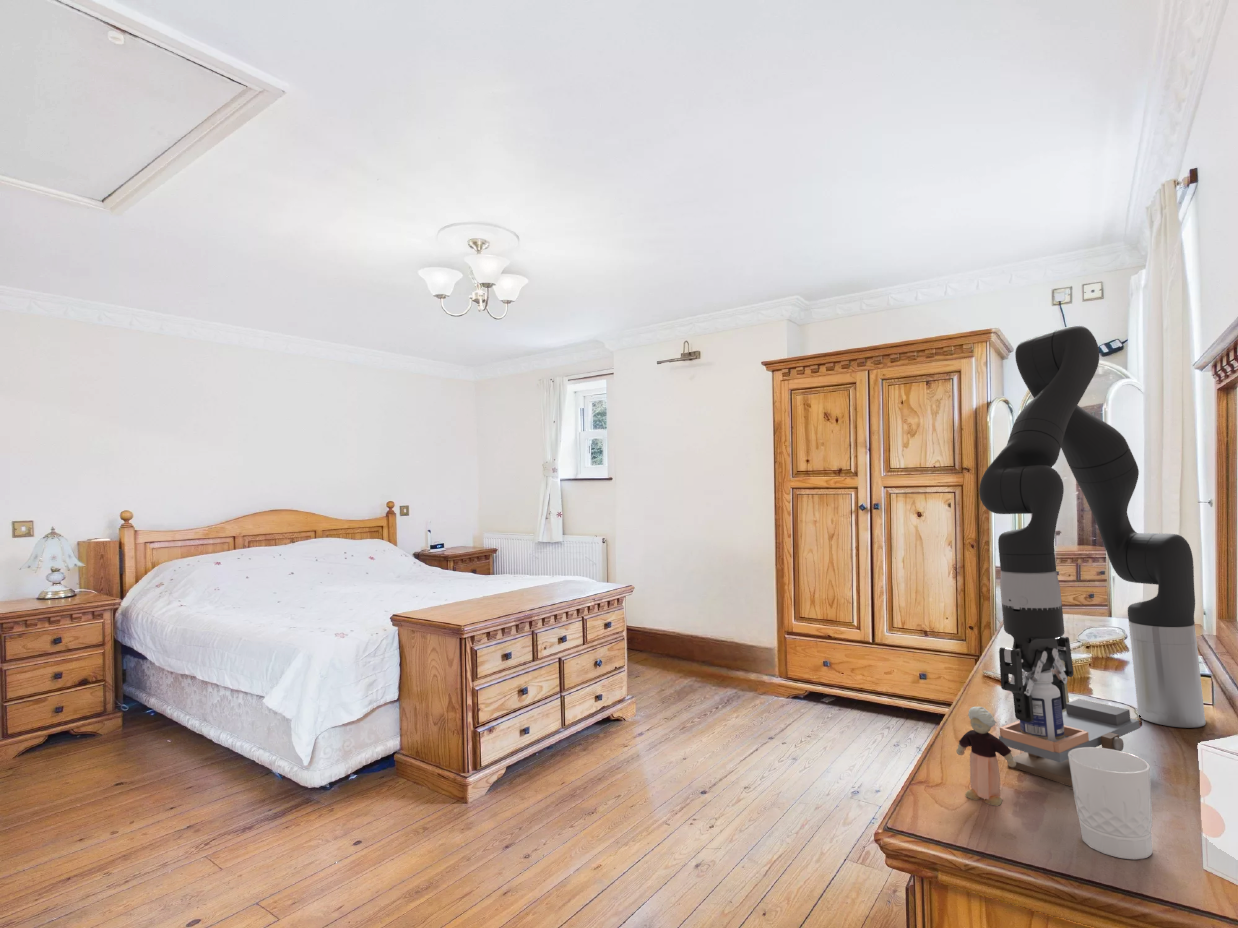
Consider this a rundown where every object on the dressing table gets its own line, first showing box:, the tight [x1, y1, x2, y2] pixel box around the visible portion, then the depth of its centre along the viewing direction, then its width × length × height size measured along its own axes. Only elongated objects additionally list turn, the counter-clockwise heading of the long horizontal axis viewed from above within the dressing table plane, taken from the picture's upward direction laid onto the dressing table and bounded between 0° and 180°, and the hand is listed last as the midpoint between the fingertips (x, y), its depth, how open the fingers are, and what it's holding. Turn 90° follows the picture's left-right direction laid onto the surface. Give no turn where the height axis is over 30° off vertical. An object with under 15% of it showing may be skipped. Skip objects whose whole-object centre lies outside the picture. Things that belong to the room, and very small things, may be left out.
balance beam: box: [998, 698, 1141, 763], centre depth 97 cm, size 22×8×3 cm, turn 118°
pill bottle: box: [1020, 669, 1065, 742], centre depth 94 cm, size 5×5×10 cm
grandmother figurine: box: [956, 706, 1016, 807], centre depth 90 cm, size 8×4×13 cm, turn 50°
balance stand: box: [1007, 732, 1125, 788], centre depth 97 cm, size 10×14×7 cm
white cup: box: [1068, 747, 1153, 860], centre depth 78 cm, size 8×8×10 cm
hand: (1041, 714), depth 94 cm, fingers open, 8 cm apart
